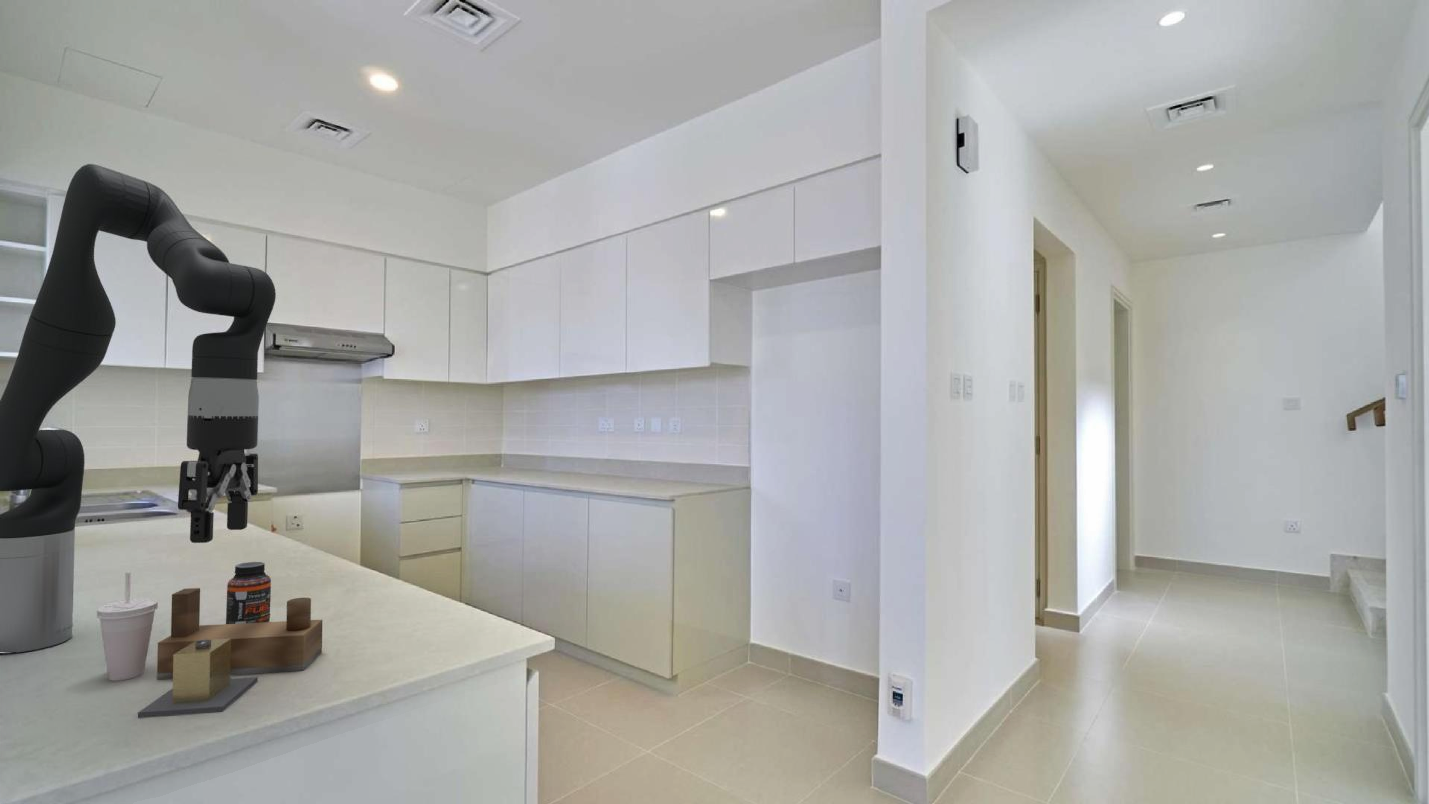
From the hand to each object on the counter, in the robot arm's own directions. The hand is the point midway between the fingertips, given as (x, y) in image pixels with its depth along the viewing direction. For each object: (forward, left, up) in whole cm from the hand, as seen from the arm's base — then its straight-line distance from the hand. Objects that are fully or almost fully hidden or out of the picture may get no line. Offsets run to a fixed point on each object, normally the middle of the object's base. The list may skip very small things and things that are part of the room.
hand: (219, 535), depth 87 cm
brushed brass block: (0, -3, -20) cm, 20 cm away
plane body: (0, +8, -20) cm, 22 cm away
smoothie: (-14, +7, -21) cm, 26 cm away
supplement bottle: (-6, +23, -21) cm, 32 cm away
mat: (0, -3, -20) cm, 20 cm away
